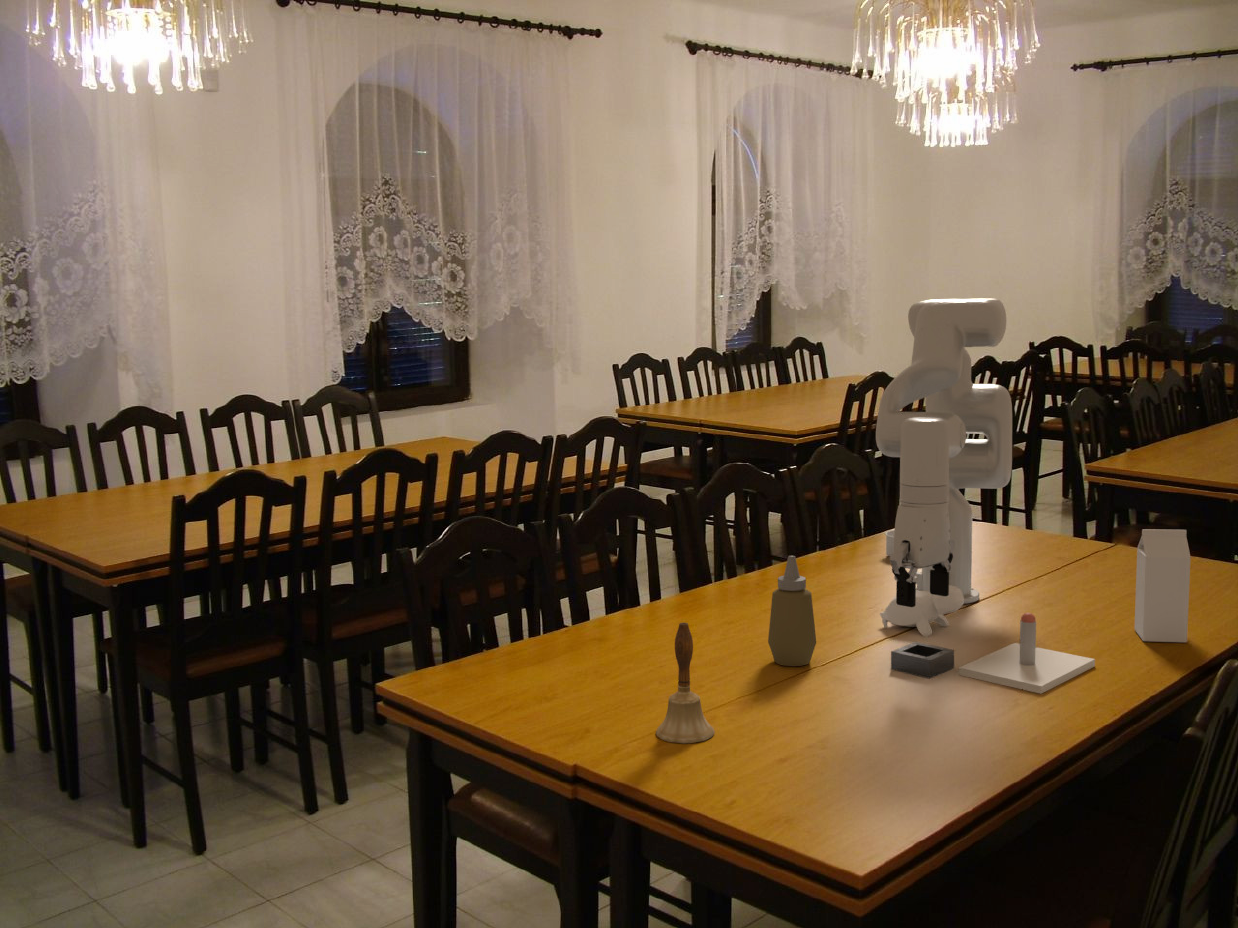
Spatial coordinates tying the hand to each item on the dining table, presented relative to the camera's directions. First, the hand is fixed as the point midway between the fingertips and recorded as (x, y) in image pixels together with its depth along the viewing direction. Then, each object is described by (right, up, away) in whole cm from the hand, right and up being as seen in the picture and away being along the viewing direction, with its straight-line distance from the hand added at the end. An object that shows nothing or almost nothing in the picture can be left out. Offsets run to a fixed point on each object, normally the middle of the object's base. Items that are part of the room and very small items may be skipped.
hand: (922, 600), depth 199 cm
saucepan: (+20, 0, +79) cm, 81 cm away
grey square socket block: (0, -11, +2) cm, 12 cm away
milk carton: (+45, -8, +16) cm, 49 cm away
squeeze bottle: (-20, -11, +7) cm, 24 cm away
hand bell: (-40, -16, -24) cm, 49 cm away
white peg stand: (+17, -11, 0) cm, 20 cm away
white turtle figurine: (+6, -8, +25) cm, 27 cm away
